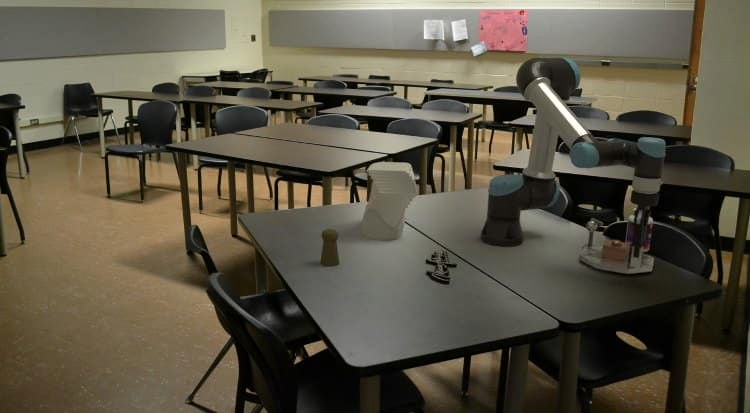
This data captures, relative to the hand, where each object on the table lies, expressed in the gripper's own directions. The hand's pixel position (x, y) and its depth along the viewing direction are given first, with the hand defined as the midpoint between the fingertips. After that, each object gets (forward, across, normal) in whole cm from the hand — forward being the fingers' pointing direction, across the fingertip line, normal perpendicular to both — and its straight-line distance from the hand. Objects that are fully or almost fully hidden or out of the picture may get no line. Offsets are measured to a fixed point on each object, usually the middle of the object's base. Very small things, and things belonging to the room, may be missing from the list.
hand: (635, 266), depth 191 cm
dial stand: (+4, +22, +17) cm, 28 cm away
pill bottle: (+5, +32, +4) cm, 33 cm away
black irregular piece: (+5, -25, +53) cm, 59 cm away
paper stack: (+4, -2, +84) cm, 85 cm away
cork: (+4, -42, +84) cm, 94 cm away
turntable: (+4, +12, +8) cm, 15 cm away
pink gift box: (+2, +12, +8) cm, 15 cm away
